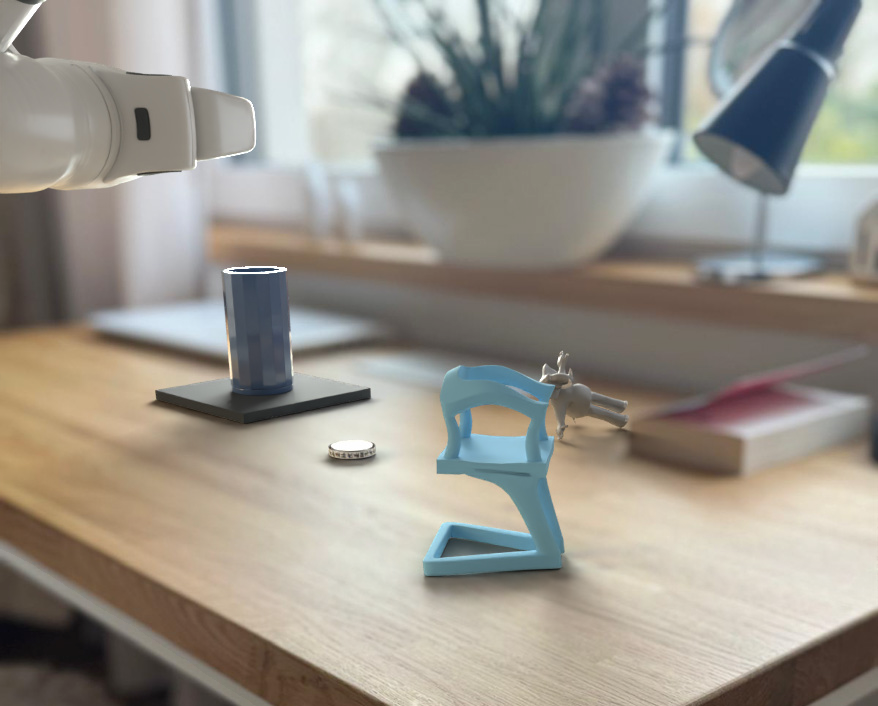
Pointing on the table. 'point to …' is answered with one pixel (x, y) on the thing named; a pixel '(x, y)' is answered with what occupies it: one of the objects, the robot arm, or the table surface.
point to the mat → (262, 398)
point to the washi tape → (352, 449)
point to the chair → (499, 472)
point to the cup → (258, 330)
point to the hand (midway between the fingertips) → (178, 128)
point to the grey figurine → (579, 399)
